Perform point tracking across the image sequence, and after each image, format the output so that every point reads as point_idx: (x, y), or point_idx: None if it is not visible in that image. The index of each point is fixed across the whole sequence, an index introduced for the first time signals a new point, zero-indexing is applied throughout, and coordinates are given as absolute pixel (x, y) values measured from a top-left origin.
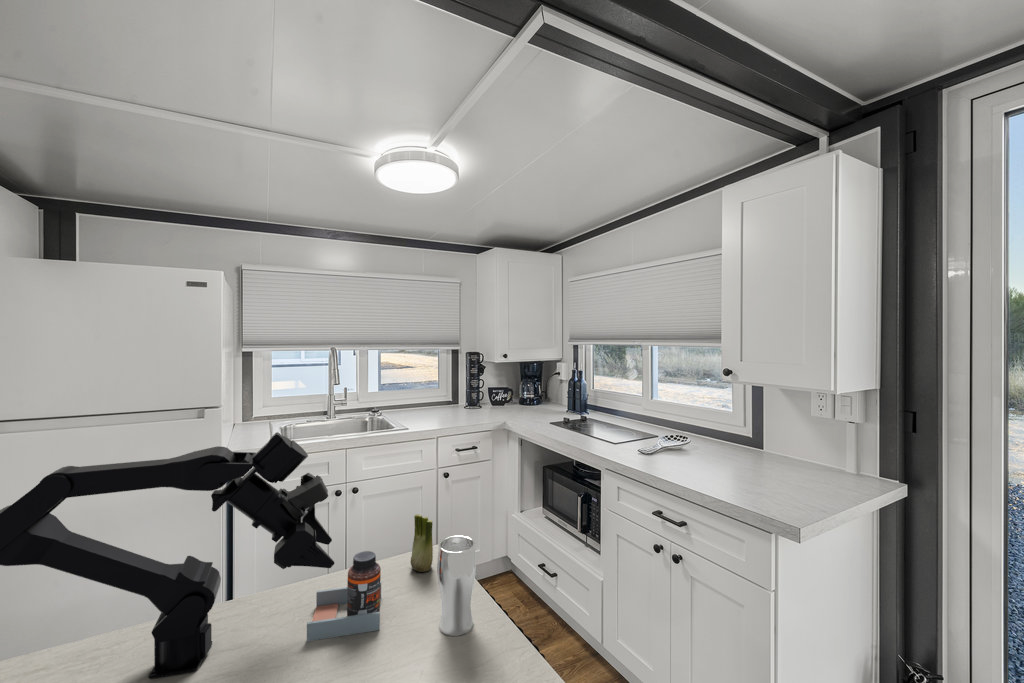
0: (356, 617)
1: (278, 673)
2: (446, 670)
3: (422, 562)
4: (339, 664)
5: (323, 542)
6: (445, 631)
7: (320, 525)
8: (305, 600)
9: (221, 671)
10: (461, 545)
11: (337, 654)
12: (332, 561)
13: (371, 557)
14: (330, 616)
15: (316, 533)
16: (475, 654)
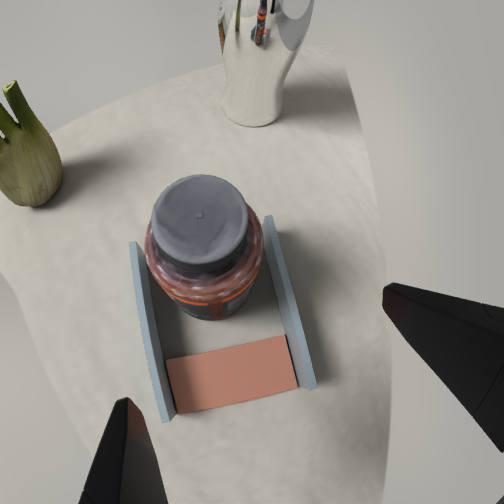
0: (286, 269)
1: (389, 390)
2: (353, 120)
3: (54, 166)
4: (366, 284)
5: (148, 440)
6: (278, 114)
7: (108, 498)
8: None
9: (377, 489)
10: None
11: (342, 298)
12: (405, 286)
13: (218, 182)
14: (222, 362)
15: (148, 499)
16: (317, 88)
